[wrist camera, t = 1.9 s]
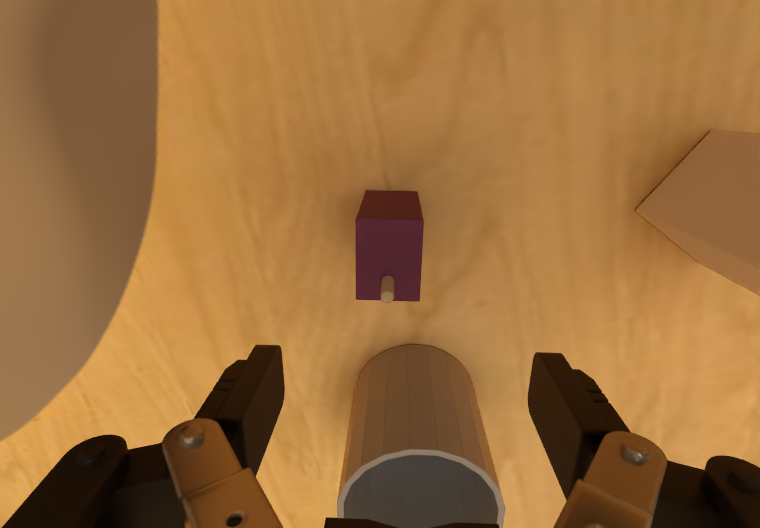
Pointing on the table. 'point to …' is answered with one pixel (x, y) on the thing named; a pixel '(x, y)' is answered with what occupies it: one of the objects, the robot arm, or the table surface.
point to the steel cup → (417, 445)
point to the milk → (714, 206)
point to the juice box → (389, 246)
